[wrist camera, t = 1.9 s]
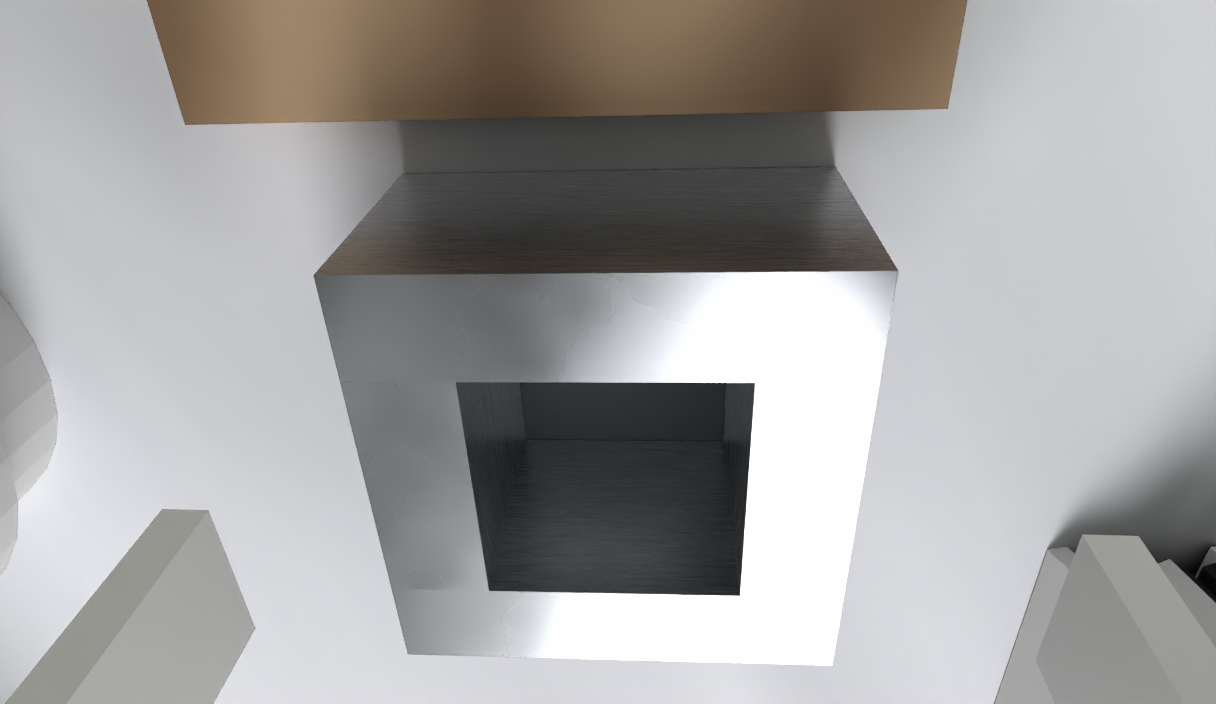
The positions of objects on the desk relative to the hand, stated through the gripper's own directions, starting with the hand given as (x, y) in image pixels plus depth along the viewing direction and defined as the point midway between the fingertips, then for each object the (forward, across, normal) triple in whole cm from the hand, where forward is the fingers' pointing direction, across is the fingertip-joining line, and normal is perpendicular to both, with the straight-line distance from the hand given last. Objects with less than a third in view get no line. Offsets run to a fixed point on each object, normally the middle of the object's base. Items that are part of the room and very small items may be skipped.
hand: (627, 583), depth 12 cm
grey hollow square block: (+7, +1, 0) cm, 7 cm away
